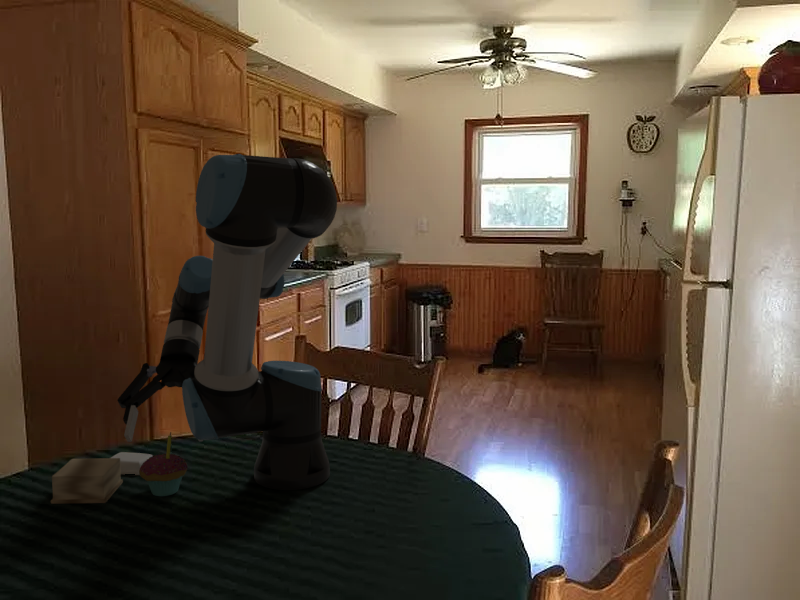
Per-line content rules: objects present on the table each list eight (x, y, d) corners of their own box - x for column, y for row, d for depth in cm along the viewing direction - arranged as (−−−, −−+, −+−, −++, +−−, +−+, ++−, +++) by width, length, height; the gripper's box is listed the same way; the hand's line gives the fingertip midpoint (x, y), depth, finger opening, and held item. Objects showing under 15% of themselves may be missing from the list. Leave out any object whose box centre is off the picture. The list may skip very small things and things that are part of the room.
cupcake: (197, 487, 131) (196, 427, 130) (165, 504, 123) (163, 440, 122) (163, 479, 135) (161, 421, 133) (130, 495, 127) (127, 433, 125)
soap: (100, 474, 138) (99, 460, 138) (119, 462, 145) (118, 449, 144) (141, 477, 137) (141, 463, 136) (158, 465, 143) (158, 452, 143)
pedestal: (122, 482, 133) (122, 457, 132) (105, 502, 124) (104, 476, 123) (72, 482, 132) (71, 458, 132) (50, 503, 123) (49, 477, 122)
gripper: (243, 356, 148) (232, 446, 135) (126, 356, 146) (103, 447, 133) (238, 337, 142) (226, 429, 129) (116, 336, 140) (91, 429, 128)
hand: (163, 438), depth 131 cm, fingers open, 13 cm apart
